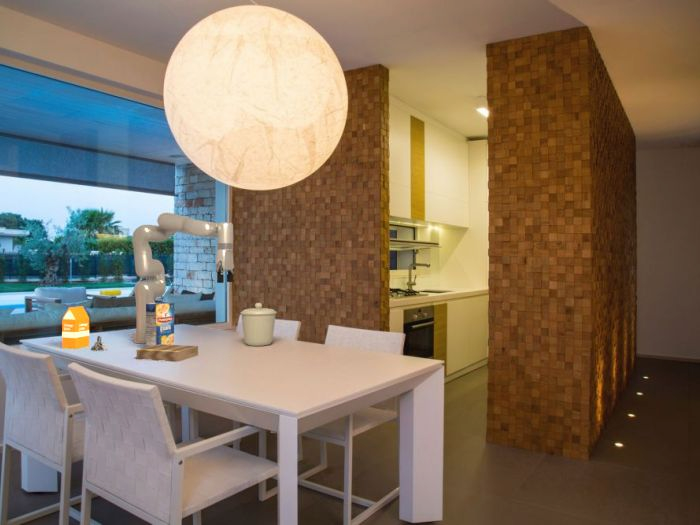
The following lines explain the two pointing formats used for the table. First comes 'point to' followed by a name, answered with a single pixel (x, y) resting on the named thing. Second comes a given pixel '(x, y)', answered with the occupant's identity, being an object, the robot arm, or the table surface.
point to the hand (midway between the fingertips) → (225, 282)
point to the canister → (258, 325)
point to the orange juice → (75, 328)
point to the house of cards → (99, 345)
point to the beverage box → (159, 324)
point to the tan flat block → (167, 352)
